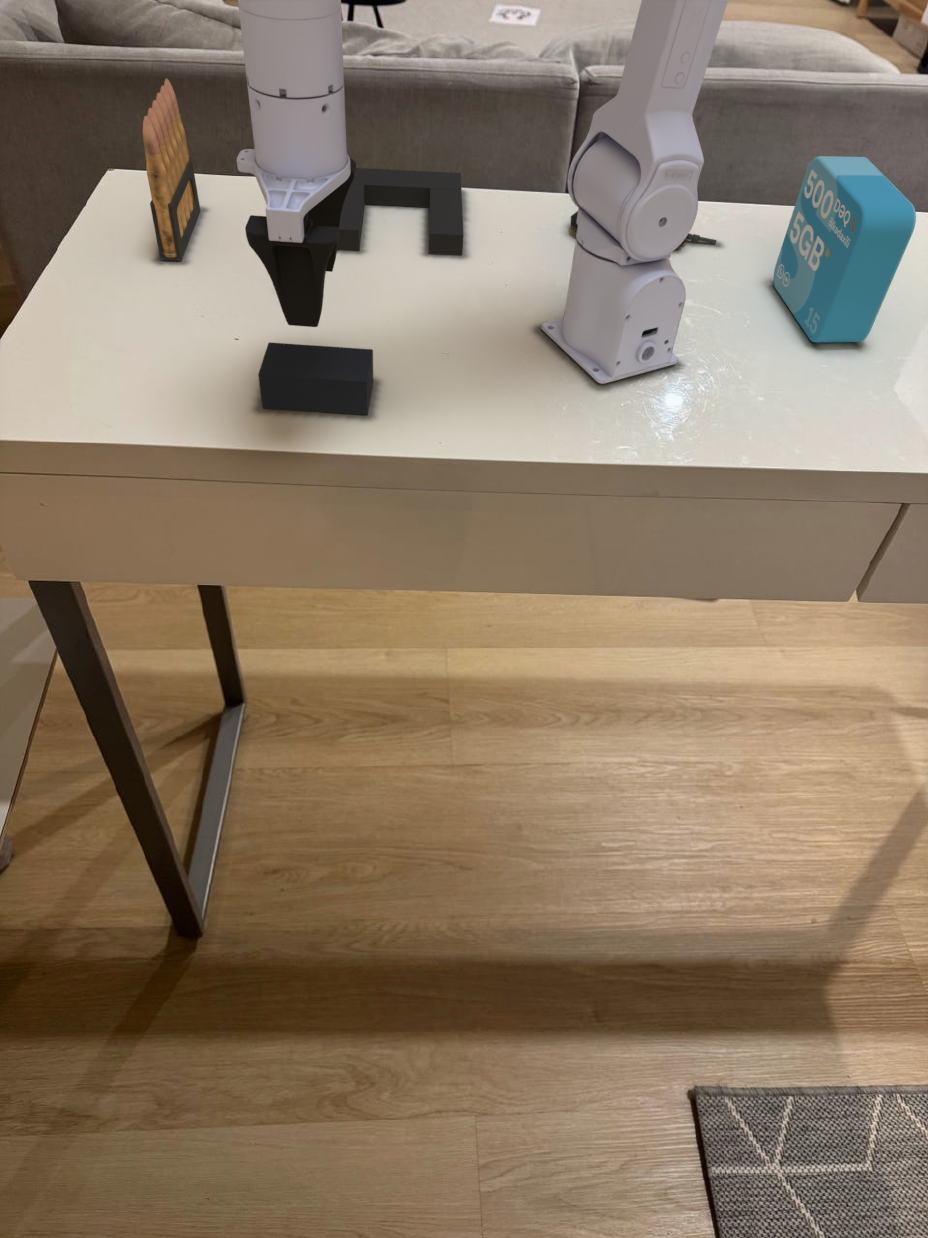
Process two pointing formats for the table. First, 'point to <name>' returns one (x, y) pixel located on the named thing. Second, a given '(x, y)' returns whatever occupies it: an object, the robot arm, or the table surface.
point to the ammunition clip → (170, 176)
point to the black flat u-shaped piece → (406, 204)
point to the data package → (842, 248)
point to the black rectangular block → (316, 378)
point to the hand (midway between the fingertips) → (311, 294)
